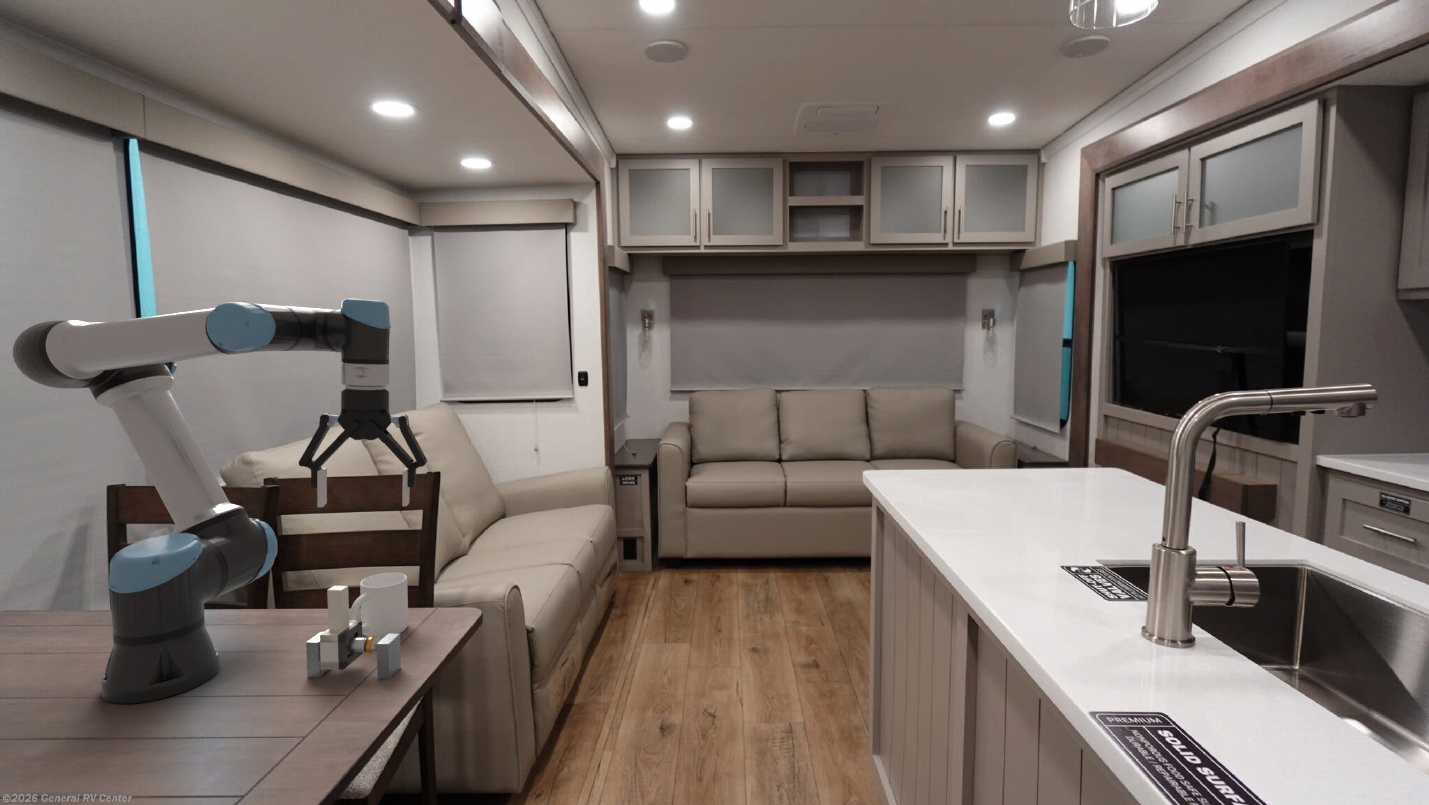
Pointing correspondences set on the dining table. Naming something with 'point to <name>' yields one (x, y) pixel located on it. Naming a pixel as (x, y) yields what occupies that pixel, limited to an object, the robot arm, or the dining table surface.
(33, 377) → the robot arm
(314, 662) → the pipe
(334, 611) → the sleeve
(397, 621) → the mug
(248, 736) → the dining table surface
